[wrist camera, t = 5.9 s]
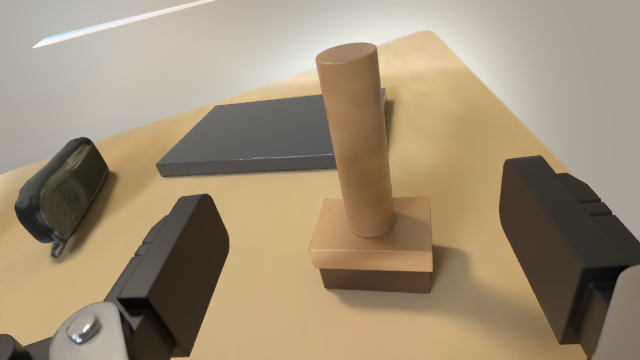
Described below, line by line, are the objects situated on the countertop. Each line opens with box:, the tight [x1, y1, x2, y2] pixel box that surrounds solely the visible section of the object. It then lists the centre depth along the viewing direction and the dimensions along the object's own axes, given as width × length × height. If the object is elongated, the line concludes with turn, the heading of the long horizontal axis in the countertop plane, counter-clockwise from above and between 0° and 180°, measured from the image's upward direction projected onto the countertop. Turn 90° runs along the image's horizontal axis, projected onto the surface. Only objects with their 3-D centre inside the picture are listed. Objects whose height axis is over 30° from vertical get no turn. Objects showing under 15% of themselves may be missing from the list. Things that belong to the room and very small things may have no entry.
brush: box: [309, 43, 433, 293], centre depth 19 cm, size 6×4×13 cm
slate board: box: [156, 88, 387, 176], centre depth 40 cm, size 22×14×2 cm, turn 78°
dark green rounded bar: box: [14, 137, 109, 258], centre depth 34 cm, size 5×3×15 cm
